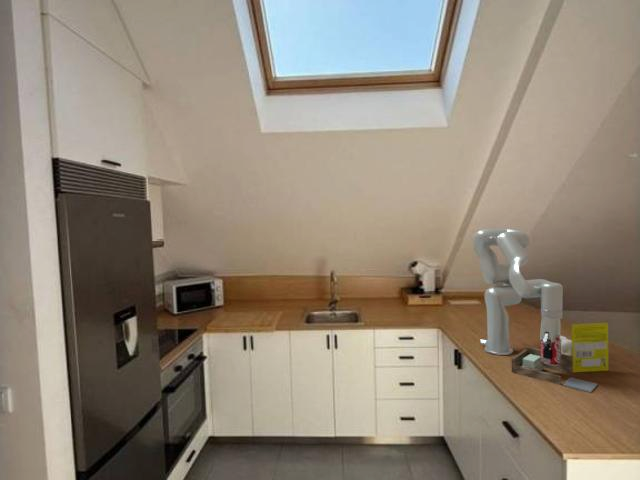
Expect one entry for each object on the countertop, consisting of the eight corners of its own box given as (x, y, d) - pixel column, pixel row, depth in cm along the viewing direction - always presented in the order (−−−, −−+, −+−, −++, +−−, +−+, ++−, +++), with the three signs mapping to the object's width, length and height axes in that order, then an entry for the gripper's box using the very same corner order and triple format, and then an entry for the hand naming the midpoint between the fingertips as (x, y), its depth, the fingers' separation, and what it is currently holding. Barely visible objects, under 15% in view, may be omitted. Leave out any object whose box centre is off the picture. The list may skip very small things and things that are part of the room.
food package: (607, 370, 159) (607, 322, 158) (609, 371, 158) (609, 323, 157) (571, 371, 158) (570, 324, 157) (573, 373, 157) (572, 325, 156)
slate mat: (562, 385, 146) (562, 384, 146) (570, 378, 152) (570, 377, 152) (590, 392, 139) (590, 391, 139) (597, 385, 145) (597, 383, 145)
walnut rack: (511, 372, 160) (511, 355, 160) (526, 361, 171) (526, 346, 171) (560, 384, 147) (560, 366, 146) (573, 372, 157) (572, 355, 157)
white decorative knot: (575, 354, 178) (575, 335, 177) (581, 363, 167) (581, 343, 166) (547, 352, 182) (547, 333, 182) (552, 360, 171) (551, 340, 171)
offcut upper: (522, 365, 160) (522, 358, 160) (530, 360, 165) (530, 354, 165) (533, 368, 157) (533, 361, 156) (541, 363, 162) (541, 356, 162)
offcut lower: (521, 373, 160) (521, 366, 160) (530, 367, 166) (529, 360, 166) (534, 376, 156) (534, 369, 156) (542, 370, 162) (542, 363, 162)
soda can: (560, 362, 157) (561, 333, 157) (560, 368, 151) (561, 338, 151) (540, 359, 161) (541, 331, 160) (540, 364, 155) (541, 335, 154)
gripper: (548, 307, 163) (548, 348, 165) (533, 315, 152) (533, 359, 153) (568, 310, 158) (568, 352, 159) (554, 319, 146) (554, 364, 148)
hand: (550, 355), depth 156 cm, fingers closed on soda can, 6 cm apart
